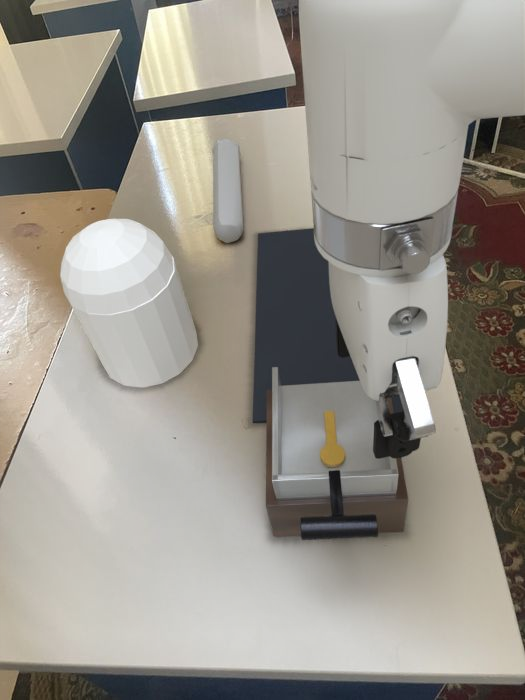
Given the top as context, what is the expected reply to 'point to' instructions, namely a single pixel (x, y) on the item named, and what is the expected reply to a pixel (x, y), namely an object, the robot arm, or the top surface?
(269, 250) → the mat
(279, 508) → the stand
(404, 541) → the top surface
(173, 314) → the container
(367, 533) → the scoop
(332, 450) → the spoon
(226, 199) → the tube
